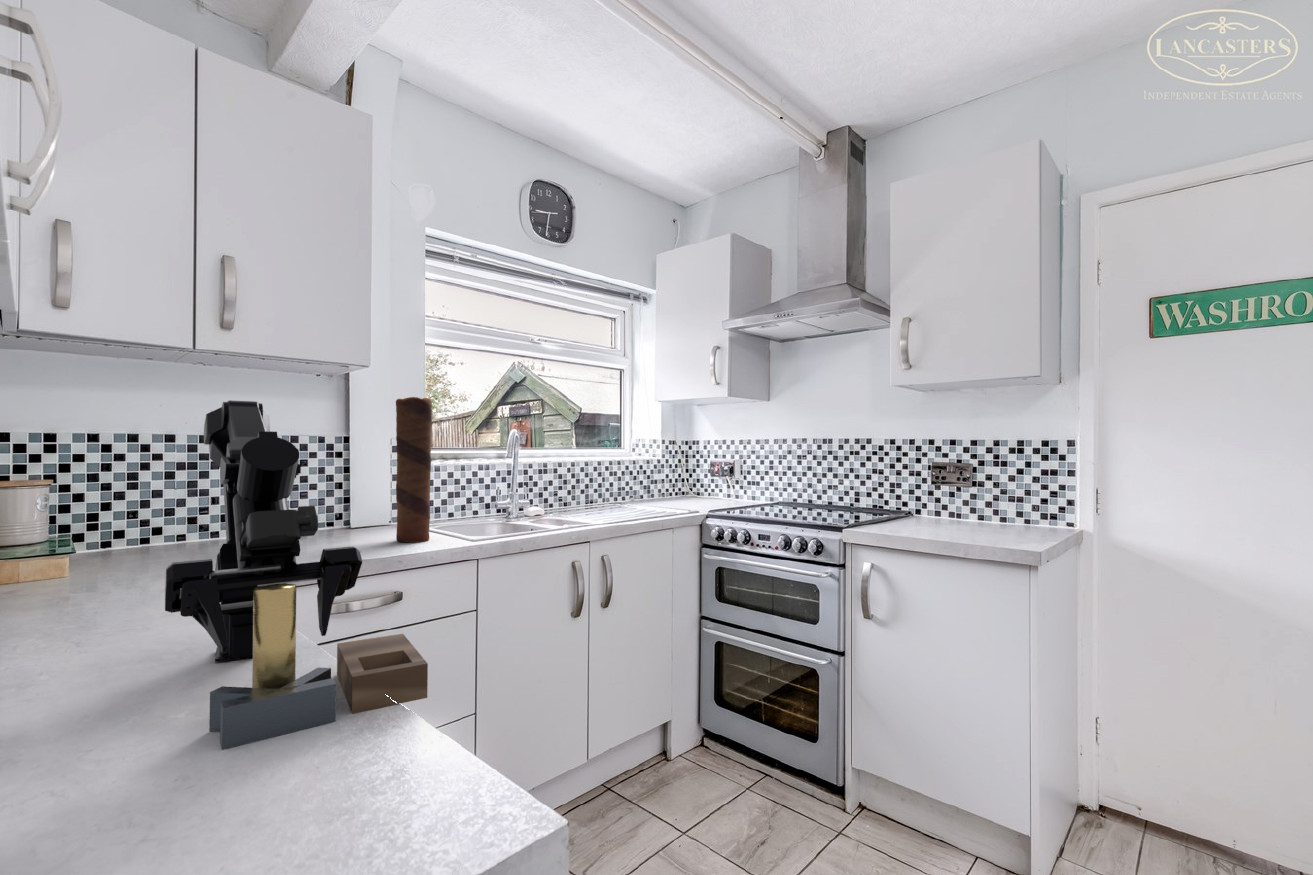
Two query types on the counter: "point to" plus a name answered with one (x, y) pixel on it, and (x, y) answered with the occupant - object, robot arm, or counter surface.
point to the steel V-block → (272, 709)
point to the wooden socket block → (381, 672)
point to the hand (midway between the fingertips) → (276, 641)
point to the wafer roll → (413, 468)
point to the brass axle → (274, 635)
